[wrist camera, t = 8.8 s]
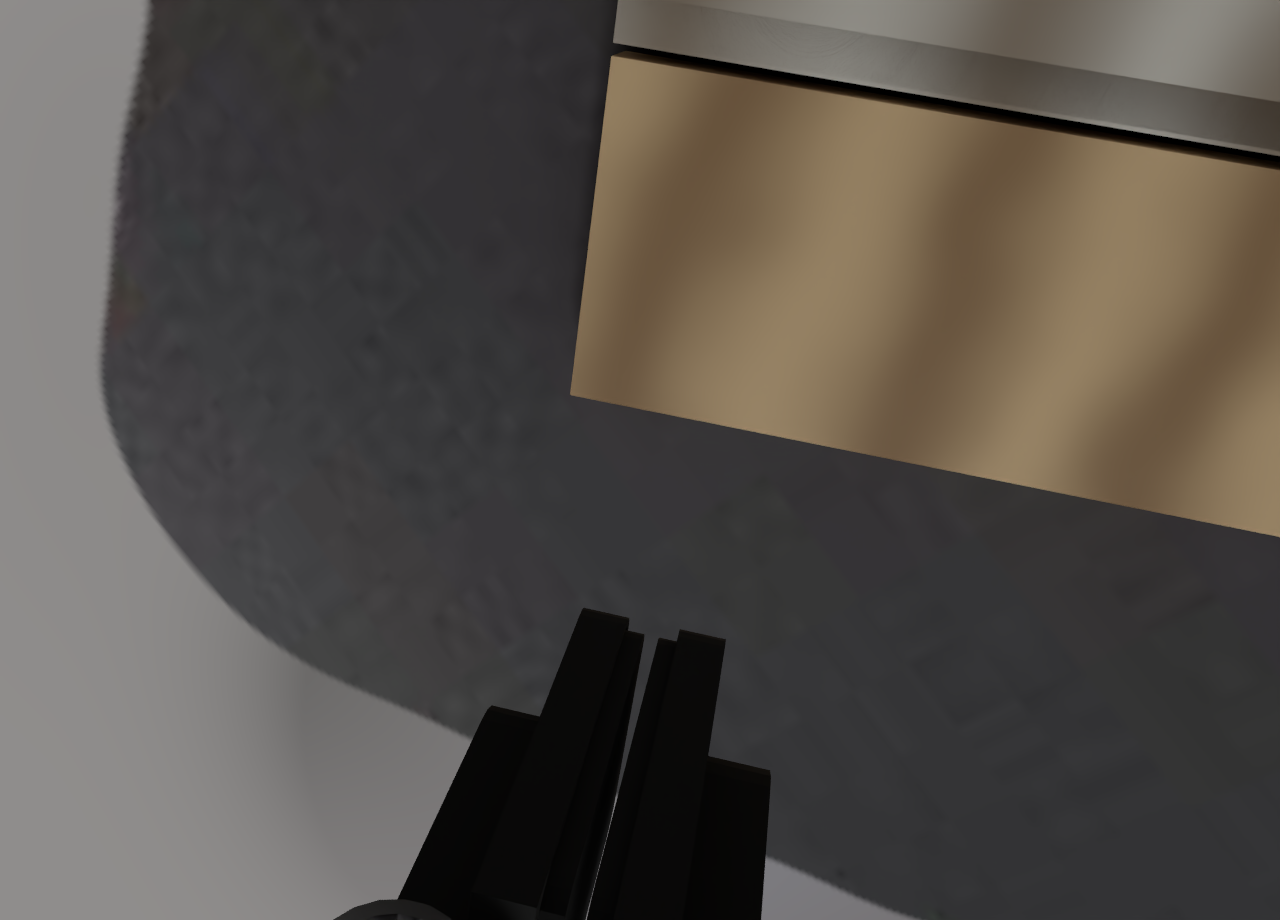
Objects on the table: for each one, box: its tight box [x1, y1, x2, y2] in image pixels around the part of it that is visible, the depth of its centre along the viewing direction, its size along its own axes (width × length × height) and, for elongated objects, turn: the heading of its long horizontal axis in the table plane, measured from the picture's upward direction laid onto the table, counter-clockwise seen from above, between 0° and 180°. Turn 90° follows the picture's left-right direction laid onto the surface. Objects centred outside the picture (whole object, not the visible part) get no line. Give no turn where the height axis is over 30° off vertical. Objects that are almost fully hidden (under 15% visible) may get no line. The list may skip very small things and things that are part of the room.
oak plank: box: [570, 51, 1280, 537], centre depth 26 cm, size 20×9×2 cm, turn 81°
